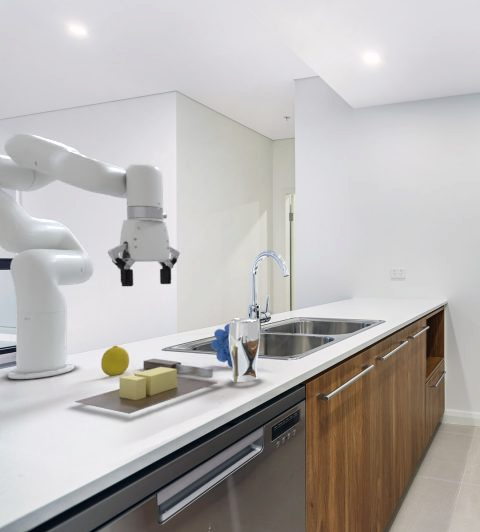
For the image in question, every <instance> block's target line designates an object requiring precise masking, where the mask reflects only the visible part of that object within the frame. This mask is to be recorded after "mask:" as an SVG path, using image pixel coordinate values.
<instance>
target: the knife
mask: <svg viewBox="0 0 480 532" xmlns="http://www.w3.org/2000/svg"><path fill="white" fill-rule="evenodd" d="M158 367H165V368H172V369H177V373H180V374H188V375H196V376H201V377H208V378H213V377H214V369H213V368H208V367H201V366H194V365H186V364H182V362H181V361H175V360H167V359H160V358H150V359H145V360H143V370H151V369H154V368H158Z"/></svg>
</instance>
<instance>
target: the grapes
mask: <svg viewBox="0 0 480 532" xmlns="http://www.w3.org/2000/svg"><path fill="white" fill-rule="evenodd" d="M229 326H230V323H226V324H225V326H224V329H223V328H222V329H221V328H218V329H216V330H215V331H214V332H213V333H214V338H215V339H214V340H212V341H211V343H210V346H211V349H212V350H214V351H215V352H217V353H216V354H215V355H216V359H217V360H218V361H219V362H221V363H225V362H227V365H228V366H229V367H230V368H232V369H233V366H232V360H231V354H230V349H229Z"/></svg>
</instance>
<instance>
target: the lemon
mask: <svg viewBox="0 0 480 532" xmlns="http://www.w3.org/2000/svg"><path fill="white" fill-rule="evenodd" d="M129 365H130V357H129V353H128V351H127V350H126V349H125V348H123V347H121V346H118V345H113V346H112V347H110V348H109V349H107V350H105V352H104V353H103V355H102V357H101V361H100V367H101V370H102V372H103V373H104V374H105V375H107V376H108V377H112V376H118V375H119V376H120V375H123V374H124V373H125V372H126V371H127V370H128V368H129Z"/></svg>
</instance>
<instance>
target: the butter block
mask: <svg viewBox="0 0 480 532" xmlns="http://www.w3.org/2000/svg"><path fill="white" fill-rule="evenodd" d="M133 376H138V377H145V378H146V395H150V396H151V395H154V394H157V393H161V392H164V391H167V390H170V389H173V388H176V387H177V377H178V372H177V369H172V368H165V367H158V368H154V369H151V370H148V369H146V370H143V371H139V372H135V373H134V374H133Z"/></svg>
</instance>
